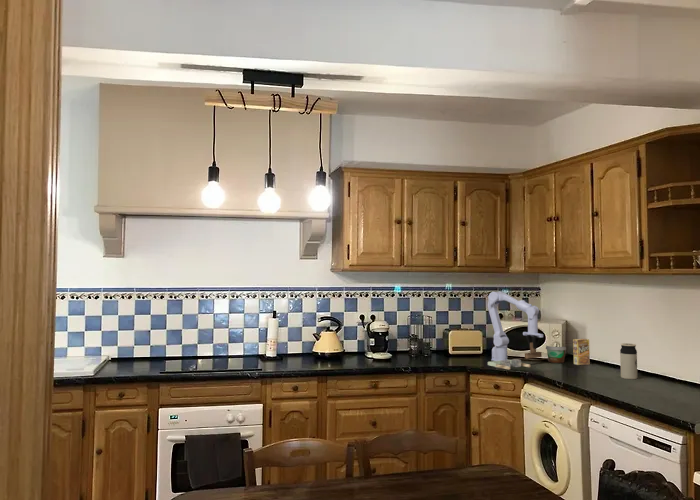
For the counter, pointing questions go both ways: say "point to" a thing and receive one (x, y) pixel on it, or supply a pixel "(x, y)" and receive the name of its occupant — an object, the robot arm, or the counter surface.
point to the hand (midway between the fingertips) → (533, 348)
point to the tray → (494, 363)
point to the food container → (556, 354)
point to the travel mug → (628, 361)
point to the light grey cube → (506, 363)
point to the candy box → (581, 351)
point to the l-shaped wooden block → (533, 353)
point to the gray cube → (516, 363)
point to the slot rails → (509, 367)
